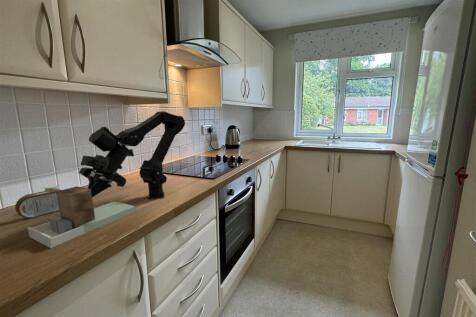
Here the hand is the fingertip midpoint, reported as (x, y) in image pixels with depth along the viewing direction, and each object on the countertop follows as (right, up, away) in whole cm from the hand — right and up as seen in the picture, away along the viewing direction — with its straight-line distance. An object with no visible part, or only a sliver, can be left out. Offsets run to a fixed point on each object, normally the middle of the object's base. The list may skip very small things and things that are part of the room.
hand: (86, 199), depth 76 cm
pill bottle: (-23, -6, +16) cm, 29 cm away
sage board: (+2, -7, +5) cm, 9 cm away
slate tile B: (-5, -7, -4) cm, 9 cm away
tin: (-21, -7, +10) cm, 24 cm away
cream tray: (-4, -10, -6) cm, 12 cm away
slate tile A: (-1, -7, -6) cm, 9 cm away
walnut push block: (-1, -7, -2) cm, 7 cm away
